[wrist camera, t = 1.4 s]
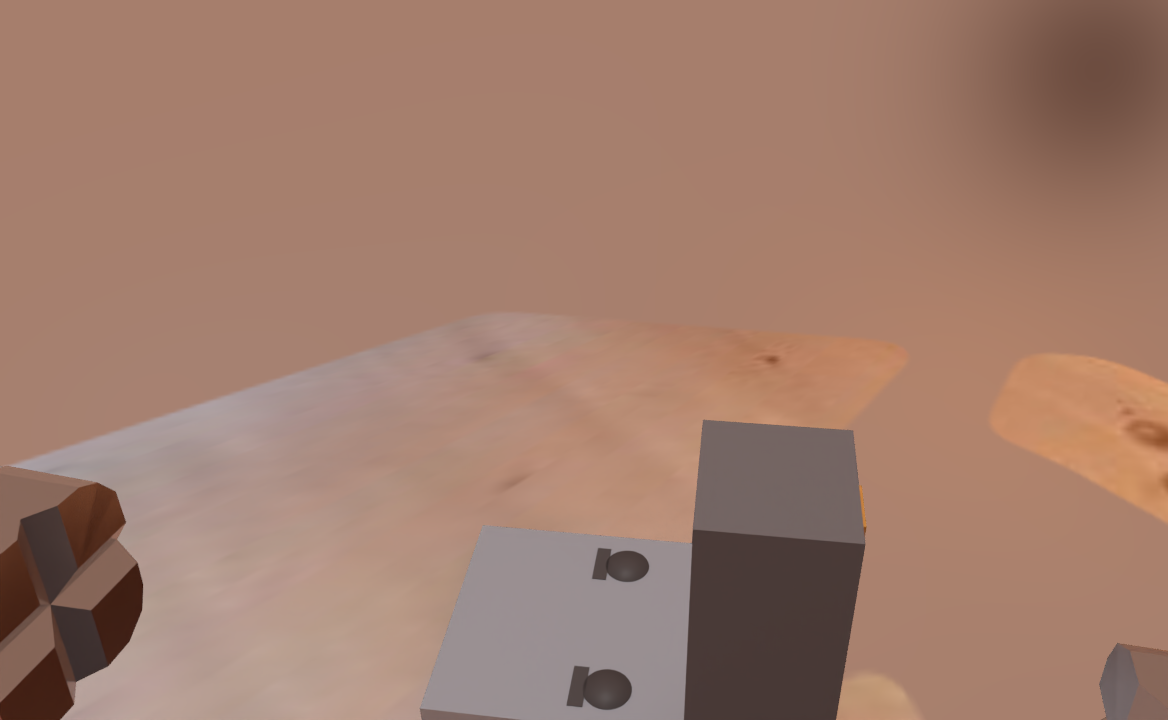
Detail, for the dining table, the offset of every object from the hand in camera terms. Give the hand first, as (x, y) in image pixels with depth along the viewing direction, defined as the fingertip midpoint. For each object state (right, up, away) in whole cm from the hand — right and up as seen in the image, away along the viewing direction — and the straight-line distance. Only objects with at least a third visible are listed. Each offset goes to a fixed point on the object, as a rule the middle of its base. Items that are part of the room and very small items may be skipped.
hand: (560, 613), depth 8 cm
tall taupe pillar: (+6, -18, +32) cm, 37 cm away
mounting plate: (+2, -12, +42) cm, 44 cm away
